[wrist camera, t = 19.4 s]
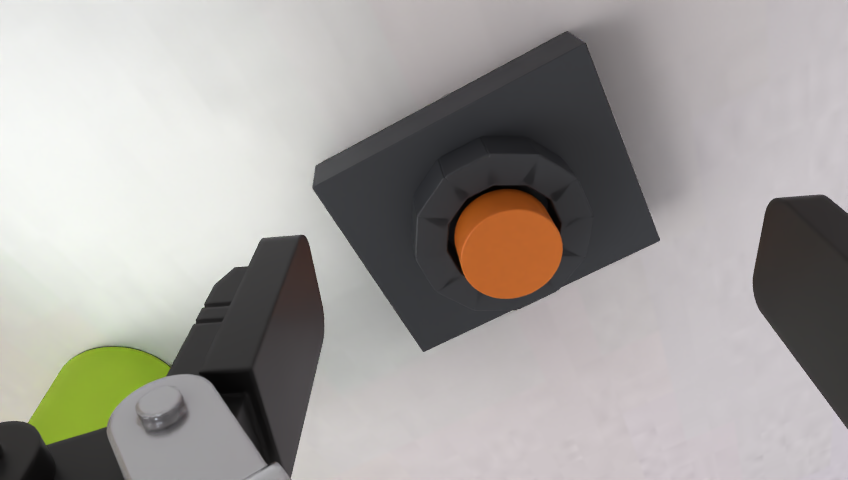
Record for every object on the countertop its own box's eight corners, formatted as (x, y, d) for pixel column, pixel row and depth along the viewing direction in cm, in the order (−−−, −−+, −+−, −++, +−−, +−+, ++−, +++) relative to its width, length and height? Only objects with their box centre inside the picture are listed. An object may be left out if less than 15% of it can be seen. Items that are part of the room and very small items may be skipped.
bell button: (527, 170, 22) (540, 191, 21) (564, 247, 24) (578, 271, 23) (437, 216, 23) (442, 239, 21) (478, 288, 25) (487, 315, 23)
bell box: (567, 30, 24) (603, 53, 20) (640, 217, 28) (680, 263, 24) (315, 165, 25) (308, 209, 22) (419, 322, 30) (427, 380, 26)
